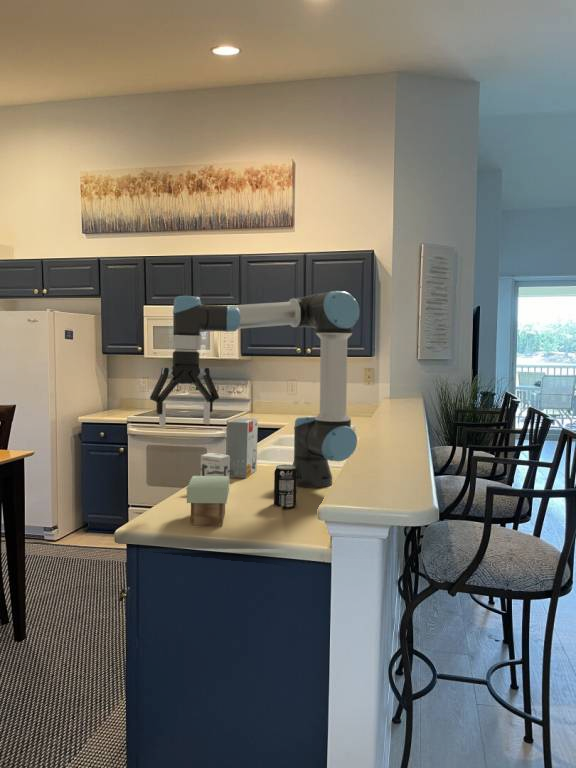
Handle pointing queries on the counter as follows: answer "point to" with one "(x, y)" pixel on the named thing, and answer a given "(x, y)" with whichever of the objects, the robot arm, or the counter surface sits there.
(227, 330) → the robot arm
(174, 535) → the counter surface
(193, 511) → the crate
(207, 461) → the ink box
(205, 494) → the lid
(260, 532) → the counter surface
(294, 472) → the beverage can
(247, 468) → the hard drive box
